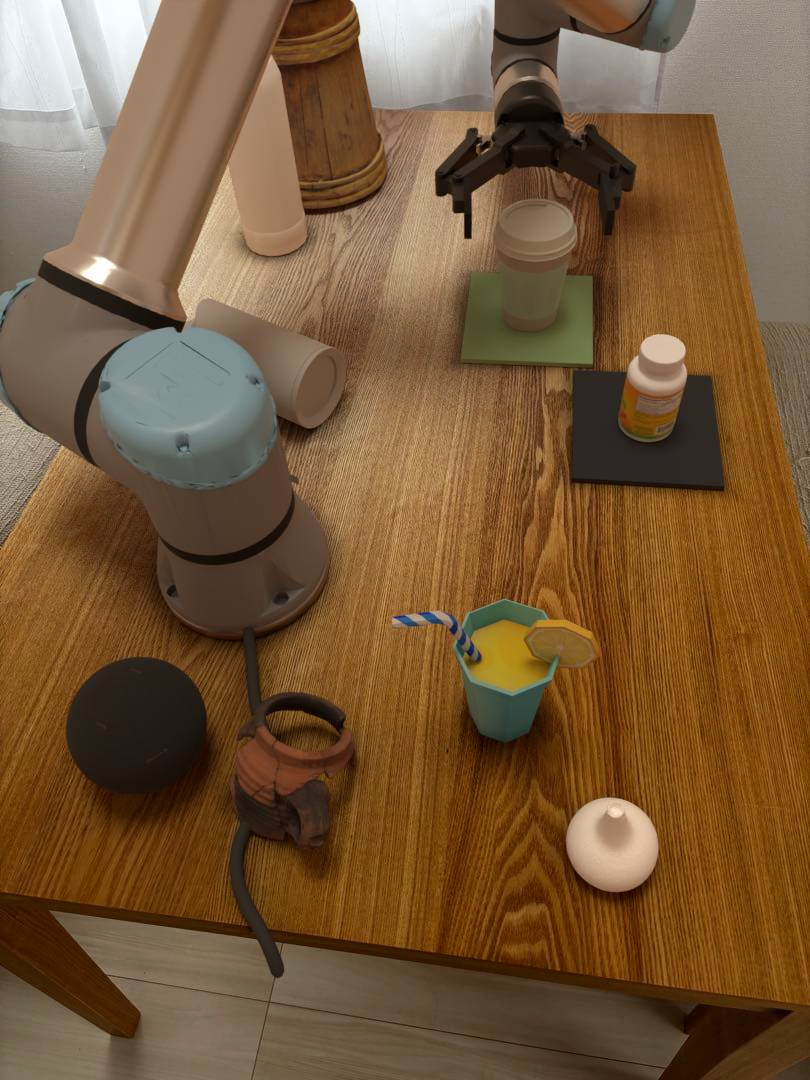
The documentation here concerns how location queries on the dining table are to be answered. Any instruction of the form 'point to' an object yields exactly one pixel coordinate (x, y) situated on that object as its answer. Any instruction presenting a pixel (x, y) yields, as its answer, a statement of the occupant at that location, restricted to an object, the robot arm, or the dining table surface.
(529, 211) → the coffee cup
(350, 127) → the tankard
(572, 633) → the cup
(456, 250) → the dining table surface
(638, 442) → the charcoal mat
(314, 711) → the broken clay pot
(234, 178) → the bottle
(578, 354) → the sage mat
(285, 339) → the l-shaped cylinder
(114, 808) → the dining table surface
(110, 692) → the speaker
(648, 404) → the supplement bottle
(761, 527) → the dining table surface
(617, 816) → the garlic bulb
